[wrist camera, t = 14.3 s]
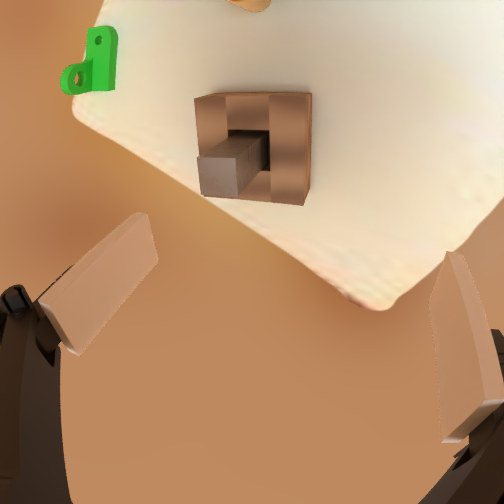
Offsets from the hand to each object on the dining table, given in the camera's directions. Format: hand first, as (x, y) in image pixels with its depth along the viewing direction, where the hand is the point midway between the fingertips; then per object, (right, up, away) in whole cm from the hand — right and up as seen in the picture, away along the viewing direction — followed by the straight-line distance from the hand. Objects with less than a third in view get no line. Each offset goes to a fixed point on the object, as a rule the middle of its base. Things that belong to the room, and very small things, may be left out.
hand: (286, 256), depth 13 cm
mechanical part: (-27, +34, +28) cm, 51 cm away
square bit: (0, +16, +28) cm, 32 cm away
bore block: (0, +16, +29) cm, 33 cm away
